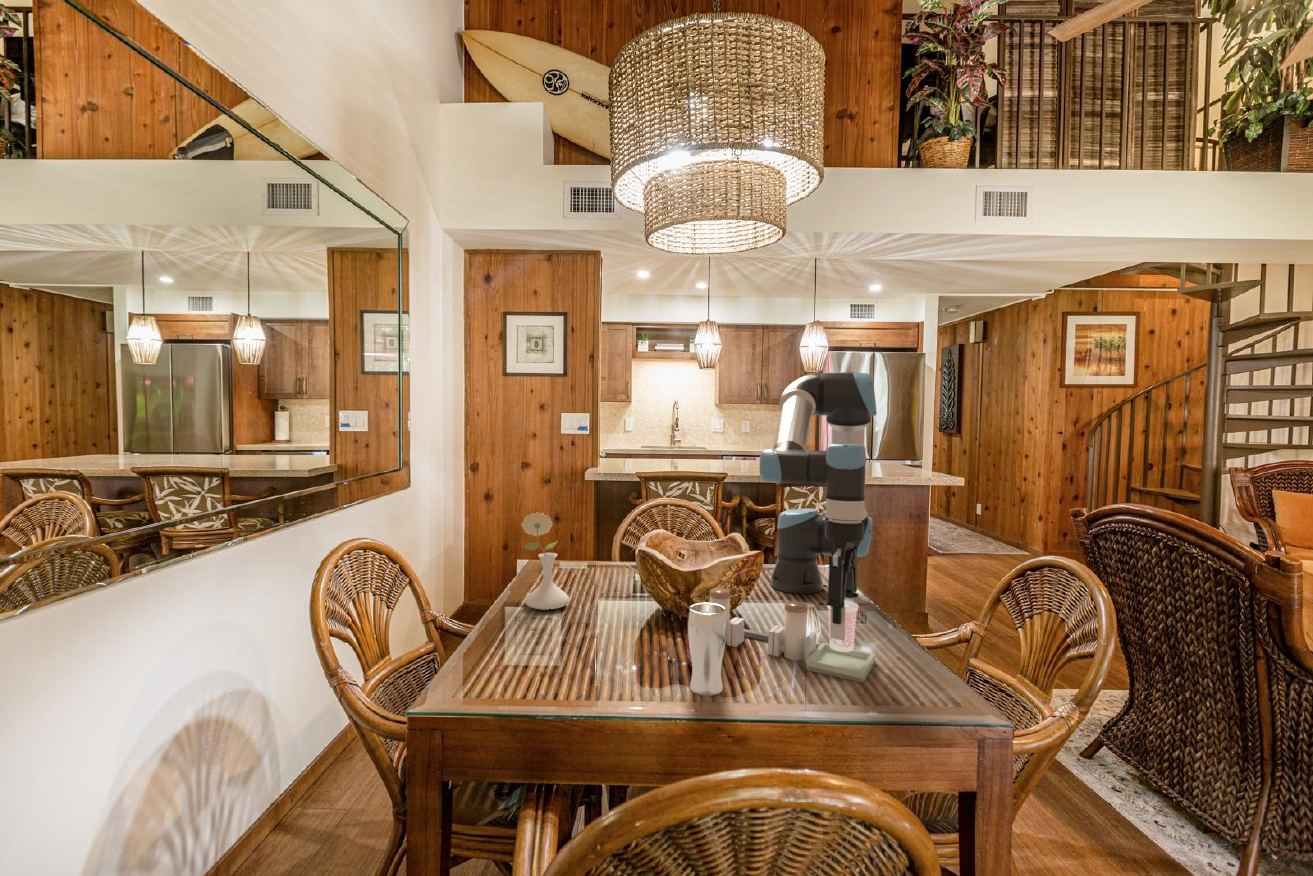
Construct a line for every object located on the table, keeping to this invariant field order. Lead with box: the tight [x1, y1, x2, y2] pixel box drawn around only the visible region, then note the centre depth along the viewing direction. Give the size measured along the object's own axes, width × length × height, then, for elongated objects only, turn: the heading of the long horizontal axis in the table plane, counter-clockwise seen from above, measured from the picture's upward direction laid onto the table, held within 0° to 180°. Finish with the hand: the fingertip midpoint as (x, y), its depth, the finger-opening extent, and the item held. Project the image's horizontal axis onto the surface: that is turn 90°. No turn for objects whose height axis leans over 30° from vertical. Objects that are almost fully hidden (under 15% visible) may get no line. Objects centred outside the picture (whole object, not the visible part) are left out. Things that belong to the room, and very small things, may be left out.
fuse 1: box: [709, 587, 731, 644], centre depth 135 cm, size 5×5×11 cm
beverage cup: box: [826, 600, 859, 652], centre depth 121 cm, size 6×6×14 cm
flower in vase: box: [520, 511, 570, 611], centre depth 157 cm, size 13×11×25 cm
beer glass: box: [688, 602, 727, 697], centre depth 110 cm, size 7×7×15 cm
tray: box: [805, 642, 876, 684], centre depth 121 cm, size 11×11×2 cm
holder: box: [726, 617, 821, 664], centre depth 133 cm, size 8×26×5 cm, turn 59°
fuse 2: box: [783, 600, 808, 661], centre depth 126 cm, size 5×5×11 cm
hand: (841, 633), depth 121 cm, fingers closed on beverage cup, 6 cm apart
